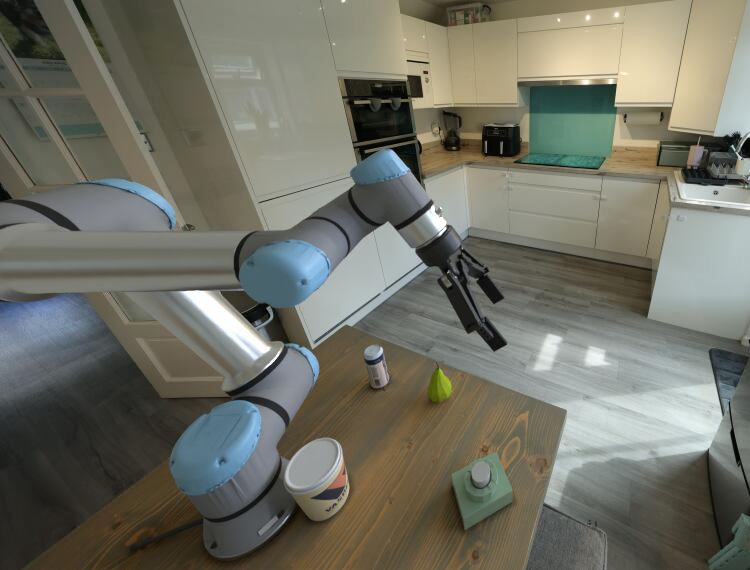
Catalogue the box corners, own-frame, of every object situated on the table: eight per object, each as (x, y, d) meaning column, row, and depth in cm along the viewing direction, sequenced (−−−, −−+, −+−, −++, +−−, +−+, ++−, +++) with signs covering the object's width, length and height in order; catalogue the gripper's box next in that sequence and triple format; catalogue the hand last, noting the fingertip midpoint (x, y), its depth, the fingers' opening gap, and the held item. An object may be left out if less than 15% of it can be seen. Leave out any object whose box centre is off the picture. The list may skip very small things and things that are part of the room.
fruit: (438, 412, 79) (433, 379, 74) (423, 398, 82) (418, 365, 77) (457, 395, 83) (454, 363, 78) (443, 382, 87) (439, 350, 82)
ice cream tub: (332, 533, 57) (315, 497, 52) (289, 520, 59) (268, 484, 54) (363, 476, 66) (351, 441, 61) (325, 466, 67) (310, 431, 62)
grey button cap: (475, 492, 59) (475, 486, 58) (469, 472, 61) (468, 466, 61) (493, 482, 60) (492, 476, 59) (486, 464, 63) (485, 458, 62)
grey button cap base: (464, 530, 58) (462, 513, 55) (452, 485, 64) (450, 468, 62) (512, 501, 62) (512, 484, 59) (496, 462, 68) (496, 445, 66)
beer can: (393, 379, 87) (386, 347, 82) (378, 392, 84) (370, 360, 79) (382, 372, 90) (374, 340, 85) (367, 384, 86) (358, 352, 81)
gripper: (437, 259, 40) (522, 362, 47) (457, 202, 63) (512, 278, 70) (391, 287, 41) (481, 383, 48) (427, 221, 64) (484, 293, 72)
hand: (499, 321), depth 59 cm, fingers open, 13 cm apart
